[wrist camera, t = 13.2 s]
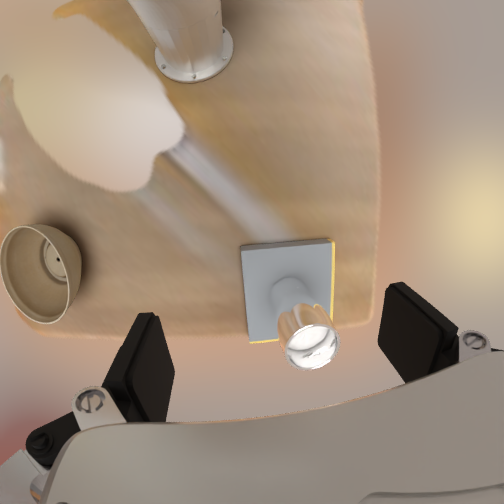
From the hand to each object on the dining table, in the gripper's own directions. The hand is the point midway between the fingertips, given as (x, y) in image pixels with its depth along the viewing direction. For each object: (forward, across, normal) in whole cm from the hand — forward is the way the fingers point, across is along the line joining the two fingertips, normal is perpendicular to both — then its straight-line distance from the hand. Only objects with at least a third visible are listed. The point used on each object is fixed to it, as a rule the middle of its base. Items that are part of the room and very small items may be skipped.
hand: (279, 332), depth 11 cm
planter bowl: (+34, +34, +5) cm, 48 cm away
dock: (+33, -6, +15) cm, 37 cm away
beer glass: (+30, -6, +14) cm, 34 cm away
